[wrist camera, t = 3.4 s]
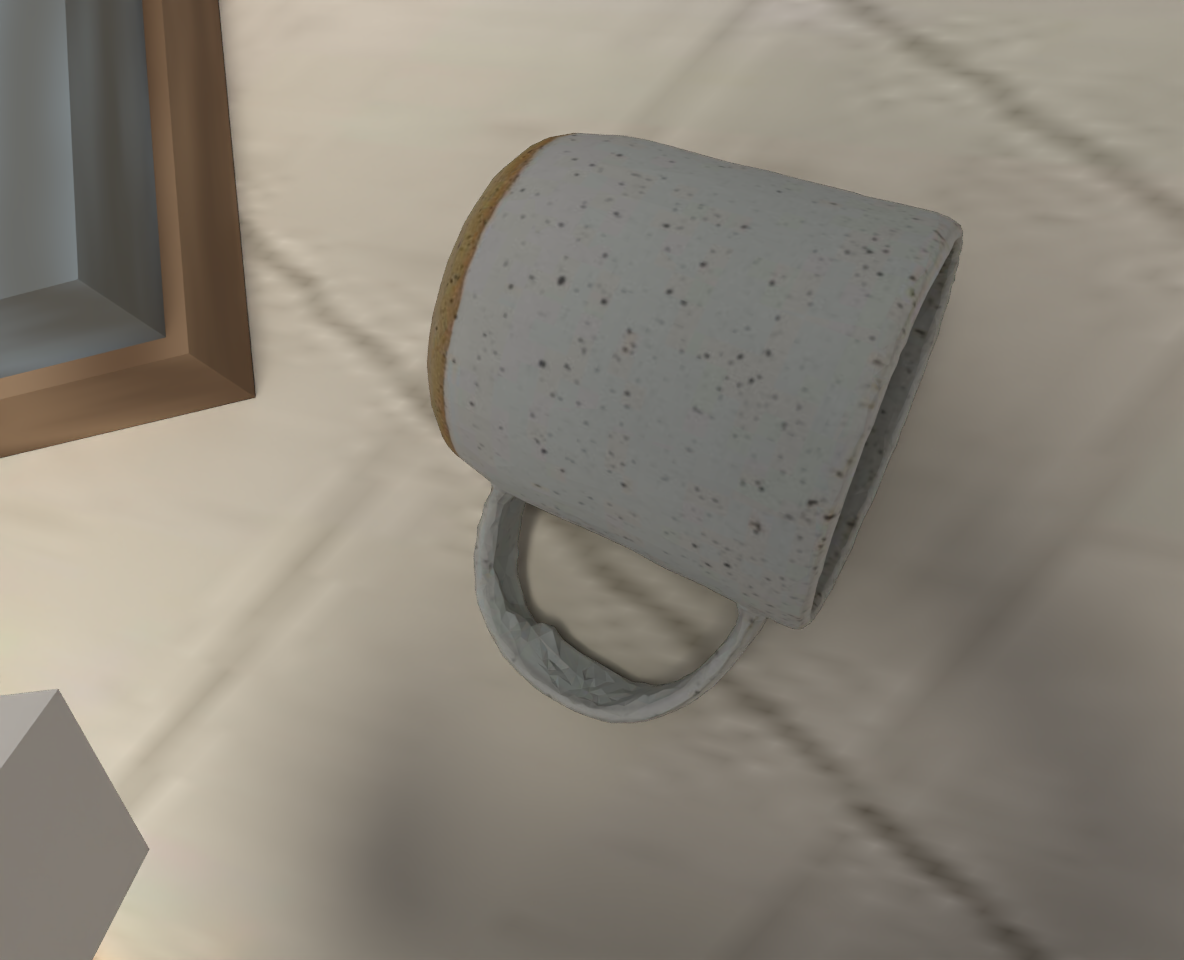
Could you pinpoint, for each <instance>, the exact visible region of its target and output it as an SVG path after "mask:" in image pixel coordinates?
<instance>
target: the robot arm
mask: <svg viewBox="0 0 1184 960" xmlns="http://www.w3.org/2000/svg"><path fill="white" fill-rule="evenodd" d="M148 851H149V848H148V846H147V844H146V842H145V841H144V839H143V837H142V835H141V834H140V832H139V830H138V828H137V826H136V825H135V823H134V821H133V819H132V818H131V816H130V814H129V812H128V811H127V809H126V807H125V805H124V804H123V802H122V800H121V798H120V797H119V795H118V793H117V791H116V790H115V788H114V786H113V784H112V782H111V781H110V779H109V777H108V775H107V774H106V772H105V770H104V768H103V767H102V765H101V763H100V761H99V760H98V758H97V756H96V754H95V753H94V751H93V749H92V747H91V746H90V744H89V742H88V740H87V738H86V737H85V735H84V733H83V731H82V730H81V728H80V726H79V724H78V723H77V721H76V719H75V717H74V716H73V714H72V712H71V710H70V709H69V707H68V705H67V703H66V702H65V700H64V698H63V696H62V694H61V693H60V691H59V689H53V690H44V691H36V692H28V693H19V694H11V695H2V696H0V960H92V959H93V957H94V956H95V954H96V952H97V950H98V948H99V946H100V944H101V942H102V940H103V938H104V936H105V934H106V932H107V930H108V928H109V926H110V925H111V923H112V921H113V919H114V917H115V915H116V913H117V911H118V909H119V907H120V905H121V903H122V901H123V899H124V897H125V895H126V894H127V892H128V890H129V888H130V886H131V884H132V882H133V880H134V878H135V876H136V874H137V872H138V870H139V868H140V866H141V864H142V863H143V861H144V859H145V857H146V855H147V853H148Z"/></svg>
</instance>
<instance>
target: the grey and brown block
mask: <svg viewBox="0 0 1184 960" xmlns="http://www.w3.org/2000/svg"><path fill="white" fill-rule="evenodd" d="M254 397H255V390H254V379H253V368H252V358H251V347H250V336H249V326H248V315H247V305H246V294H245V283H244V273H243V262H242V251H241V241H240V230H239V219H238V209H237V198H236V187H235V177H234V166H233V155H232V145H231V134H230V123H229V113H228V102H227V91H226V81H225V70H224V59H223V49H222V38H221V27H220V17H219V6H218V0H0V458H1V457H6V456H10V455H14V454H18V453H23V452H27V451H31V450H35V449H39V448H44V447H48V446H52V445H56V444H60V443H65V442H69V441H73V440H77V439H82V438H86V437H90V436H94V435H98V434H103V433H107V432H111V431H115V430H119V429H124V428H128V427H132V426H136V425H140V424H145V423H149V422H153V421H157V420H162V419H166V418H170V417H174V416H178V415H183V414H187V413H191V412H195V411H199V410H204V409H208V408H212V407H216V406H221V405H225V404H229V403H233V402H237V401H242V400H246V399H250V398H254Z"/></svg>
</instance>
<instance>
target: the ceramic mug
mask: <svg viewBox="0 0 1184 960" xmlns="http://www.w3.org/2000/svg"><path fill="white" fill-rule="evenodd" d="M962 237H963V230H962V228H961V225H959V224H958V223H957V222H955V221H954V220H953V219H951V218H949V217H947V216H944V215H942V214H939V213H937V212H933V211H929V210H925V209H921V208H916V207H912V206H908V205H903V204H899V203H895V202H890V201H886V200H881V199H876V198H871V197H866V196H863V195H860V194H857V193H854V192H850V191H846V190H842V189H838V188H834V187H830V186H826V185H821V184H817V183H813V182H809V181H805V180H801V179H797V178H793V177H789V176H785V175H782V174H778V173H775V172H771V171H767V170H762V169H758V168H753V167H748V166H744V165H739V164H735V163H730V162H726V161H722V160H719V159H715V158H712V157H708V156H705V155H701V154H697V153H694V152H690V151H687V150H683V149H679V148H676V147H672V146H669V145H665V144H661V143H657V142H653V141H649V140H644V139H639V138H633V137H628V136H620V135H599V134H582V133H572V134H566V135H560V136H554V137H549V138H547V139H544V140H542V141H541V142H539V143H536V144H534V145H532V146H530V147H529V148H528V149H526V150H525V151H524V152H523V153H521V154H520V155H519V156H518V157H517V158H515V159H514V160H513V161H512V162H511V163H509V164H508V165H507V166H506V167H504V168H503V169H502V170H501V171H500V172H499V173H498V174H497V175H496V176H495V177H494V178H493V179H492V181H491V182H490V184H489V185H488V187H487V188H486V190H485V191H484V193H483V194H482V196H481V197H480V199H479V200H478V202H477V203H476V205H475V206H474V208H473V210H472V211H471V213H470V215H469V216H468V218H467V220H466V221H465V223H464V225H463V227H462V230H461V232H460V234H459V237H458V239H457V241H456V243H455V246H454V248H453V250H452V253H451V255H450V257H449V259H448V262H447V266H446V269H445V272H444V275H443V279H442V282H441V285H440V289H439V293H438V297H437V301H436V305H435V308H434V312H433V317H432V323H431V329H430V336H429V345H428V358H427V369H428V380H429V390H430V398H431V405H432V408H433V411H434V414H435V417H436V420H437V422H438V425H439V428H440V431H441V434H442V437H443V438H444V440H445V442H446V444H447V445H448V447H449V448H450V449H451V450H452V451H453V452H454V453H455V454H456V455H457V456H458V457H460V458H461V459H462V460H463V461H465V462H466V463H467V464H469V465H470V466H471V467H472V468H474V469H475V470H476V471H477V472H479V473H480V474H481V475H483V476H484V477H485V478H486V479H488V480H489V481H490V482H491V484H492V488H491V493H490V495H489V496H488V498H487V500H486V502H485V504H484V508H483V513H482V517H481V520H480V522H479V524H478V527H477V541H476V546H475V552H474V569H475V590H476V595H477V601H478V605H479V608H480V610H481V613H482V615H483V618H484V620H485V623H486V625H487V628H488V630H489V632H490V634H491V636H492V637H493V639H494V641H495V643H496V644H497V646H498V648H499V650H500V651H501V653H502V655H503V656H504V657H505V659H506V660H507V661H508V662H509V663H510V664H511V665H512V666H513V667H514V668H515V669H516V670H517V672H518V673H519V674H520V675H522V676H523V677H524V678H525V679H526V680H527V681H528V682H529V683H530V684H531V685H532V686H533V687H535V688H536V689H538V690H539V691H540V692H542V693H543V694H545V695H546V696H548V697H550V698H551V699H553V700H555V701H557V702H558V703H560V704H562V705H564V706H566V707H567V708H569V709H571V710H573V711H575V712H578V713H580V714H583V715H586V716H589V717H592V718H595V719H598V720H601V721H605V722H610V723H635V722H644V721H648V720H652V719H655V718H658V717H661V716H663V715H666V714H668V713H671V712H673V711H675V710H678V709H680V708H682V707H684V706H686V705H688V704H690V703H691V702H693V701H694V700H696V699H698V698H699V697H700V696H701V695H703V694H704V693H705V692H707V691H708V690H709V689H711V688H712V687H713V686H714V685H715V684H716V683H717V682H718V681H719V680H720V679H721V678H722V677H723V676H724V675H725V674H726V673H727V672H728V671H729V670H730V668H731V667H732V666H733V665H734V663H735V662H736V661H737V659H738V658H739V657H740V656H741V654H742V653H743V652H744V650H745V649H746V648H747V647H748V645H749V644H750V643H751V641H752V640H753V639H754V638H755V636H756V635H757V634H758V632H759V631H760V630H761V629H762V627H763V625H764V623H765V621H766V619H767V618H770V619H772V620H774V621H775V622H777V623H780V624H782V625H785V626H787V627H790V628H792V629H802V628H804V627H805V626H807V625H808V624H810V623H811V622H812V620H813V619H814V618H815V616H816V615H817V613H818V612H819V611H820V609H821V608H822V605H823V603H824V601H825V599H826V598H827V596H828V595H829V593H830V591H831V590H832V588H833V586H834V583H835V580H836V578H837V577H838V575H839V573H840V571H841V569H842V567H843V565H844V563H845V561H846V559H847V557H848V555H849V553H850V551H851V549H852V547H853V544H854V541H855V538H856V535H857V533H858V530H859V528H860V526H861V524H862V521H863V519H864V517H865V515H866V513H867V511H868V509H869V508H870V506H871V504H872V502H873V499H874V497H875V494H876V492H877V489H878V487H879V485H880V482H881V480H882V477H883V475H884V472H885V470H886V467H887V465H888V462H889V460H890V457H891V455H892V453H893V451H894V449H895V447H896V445H897V442H898V439H899V435H900V432H901V430H902V428H903V426H904V424H905V421H906V418H907V415H908V413H909V410H910V407H911V404H912V402H913V399H914V396H915V394H916V391H917V389H918V386H919V384H920V381H921V379H922V376H923V374H924V371H925V368H926V365H927V362H928V359H929V356H930V354H931V351H932V349H933V346H934V344H935V341H936V339H937V336H938V334H939V330H940V325H941V321H942V317H943V314H944V311H945V309H946V306H947V304H948V301H949V297H950V292H951V287H952V284H953V282H954V281H955V273H956V270H957V267H958V264H959V255H960V253H961V249H962V244H963V240H962ZM526 502H527V503H529V504H531V505H533V506H535V507H538V508H540V509H542V510H544V511H546V512H549V513H551V514H553V515H555V516H557V517H560V518H562V519H564V520H566V521H569V522H571V523H574V524H576V525H578V526H581V527H583V528H585V529H588V530H590V531H592V532H594V533H597V534H599V535H601V536H603V537H605V538H608V539H610V540H612V541H614V542H616V543H618V544H620V545H623V546H625V547H627V548H629V549H631V550H633V551H635V552H636V553H638V554H640V555H642V556H644V557H645V558H647V559H649V560H651V561H653V562H654V563H656V564H658V565H660V566H662V567H664V568H665V569H668V570H670V571H672V572H674V573H677V574H679V575H681V576H683V577H686V578H688V579H690V580H692V581H695V582H697V583H699V584H701V585H704V586H706V587H707V588H709V589H711V590H713V591H715V592H717V593H719V594H721V595H723V596H725V597H726V598H728V599H730V600H732V601H734V602H736V604H737V608H738V612H739V616H738V619H737V622H736V625H735V626H734V628H733V630H732V631H731V633H730V634H729V636H728V637H727V639H726V640H725V642H724V643H723V644H722V645H721V646H720V647H719V648H718V650H717V651H716V652H715V653H714V654H713V655H712V656H711V657H710V658H709V659H708V660H707V661H706V662H705V663H704V664H703V665H702V666H701V667H700V668H699V669H697V670H696V671H694V672H693V673H691V674H689V675H687V676H685V677H683V678H682V679H680V680H678V681H675V682H673V683H669V684H663V685H661V686H652V685H649V684H647V683H644V682H636V683H634V682H632V681H630V680H627V679H625V678H624V677H622V676H620V675H618V674H616V673H615V672H613V671H611V670H610V669H608V668H606V667H605V666H603V665H601V664H600V663H598V662H596V661H594V660H593V659H591V658H589V657H587V656H585V655H583V654H582V653H580V652H579V651H577V650H576V649H575V648H573V647H572V646H571V645H569V644H568V643H567V642H565V641H564V640H563V639H562V638H561V636H560V635H559V633H558V632H557V630H556V629H555V627H553V626H550V625H547V624H544V623H538V624H537V623H536V621H535V620H534V618H533V616H532V614H531V613H530V611H529V609H528V607H527V605H526V602H525V599H524V596H523V592H522V589H521V586H520V582H519V578H518V568H517V560H518V556H519V551H518V545H517V543H518V538H519V533H520V528H521V520H522V514H523V511H524V507H525V504H526Z"/></svg>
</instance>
